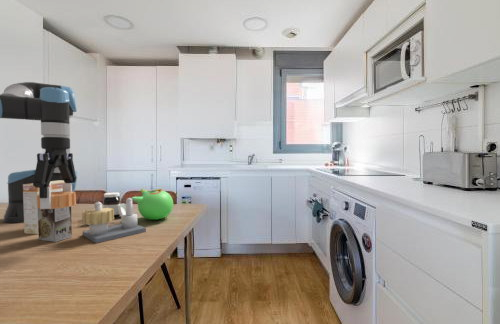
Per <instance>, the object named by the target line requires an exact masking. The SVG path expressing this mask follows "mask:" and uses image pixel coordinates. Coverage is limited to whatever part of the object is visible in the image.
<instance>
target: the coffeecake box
mask: <svg viewBox="0 0 500 324" xmlns="http://www.w3.org/2000/svg"><path fill="white" fill-rule="evenodd" d="M62 183H65V182H64V181H63V180H57V181H50V184H49V186H48V187H51V192H60V191H63V185H62ZM38 194H40V193H39V188H36V187H35V186H33V183H31V184H23V204H24V222H23V228H24V229H23V230H24V234H25V235H26V234H27V235H28V234H29V235H39V233H38V208H37V195H38Z"/></svg>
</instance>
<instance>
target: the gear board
mask: <svg viewBox="0 0 500 324" xmlns="http://www.w3.org/2000/svg"><path fill="white" fill-rule="evenodd" d="M131 198H132V197H128V198H126V199H125V205H126V215H122V216H120V220H121V221H120V223H118V224H112V225H109V223H111V222H112V221H114V220H115V218H114V209H113V208H103V202H100V201H96V202H95V203H94V208H91V209H86V210H83V211H81V213H82V214H81V215H82V217H81V218H82V219H81V221H82V224H83V225H86V226H87V225H88V228H89V229H88V230H82V236H83V237H84V238H87V240H90V241H91V242H93V243H95V244H98V243H99V244H101V243H104V242H108V241H112V240H115V239H121V238H125V237H128V236H132V235H133V236H134V235H137V234H140V233H146V230H147V229H146V227H145V226H142V225H139V223H138V214H136V213H133V207H134V206H133V200H132V199H131Z"/></svg>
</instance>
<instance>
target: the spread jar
mask: <svg viewBox="0 0 500 324" xmlns="http://www.w3.org/2000/svg"><path fill="white" fill-rule="evenodd" d="M121 200H122V199H121V197H120V192H105V193H103V200H102V208H113V209H114V219H116V218H120V217H121V216H122V215H126V203H121ZM119 216H120V217H119Z"/></svg>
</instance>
